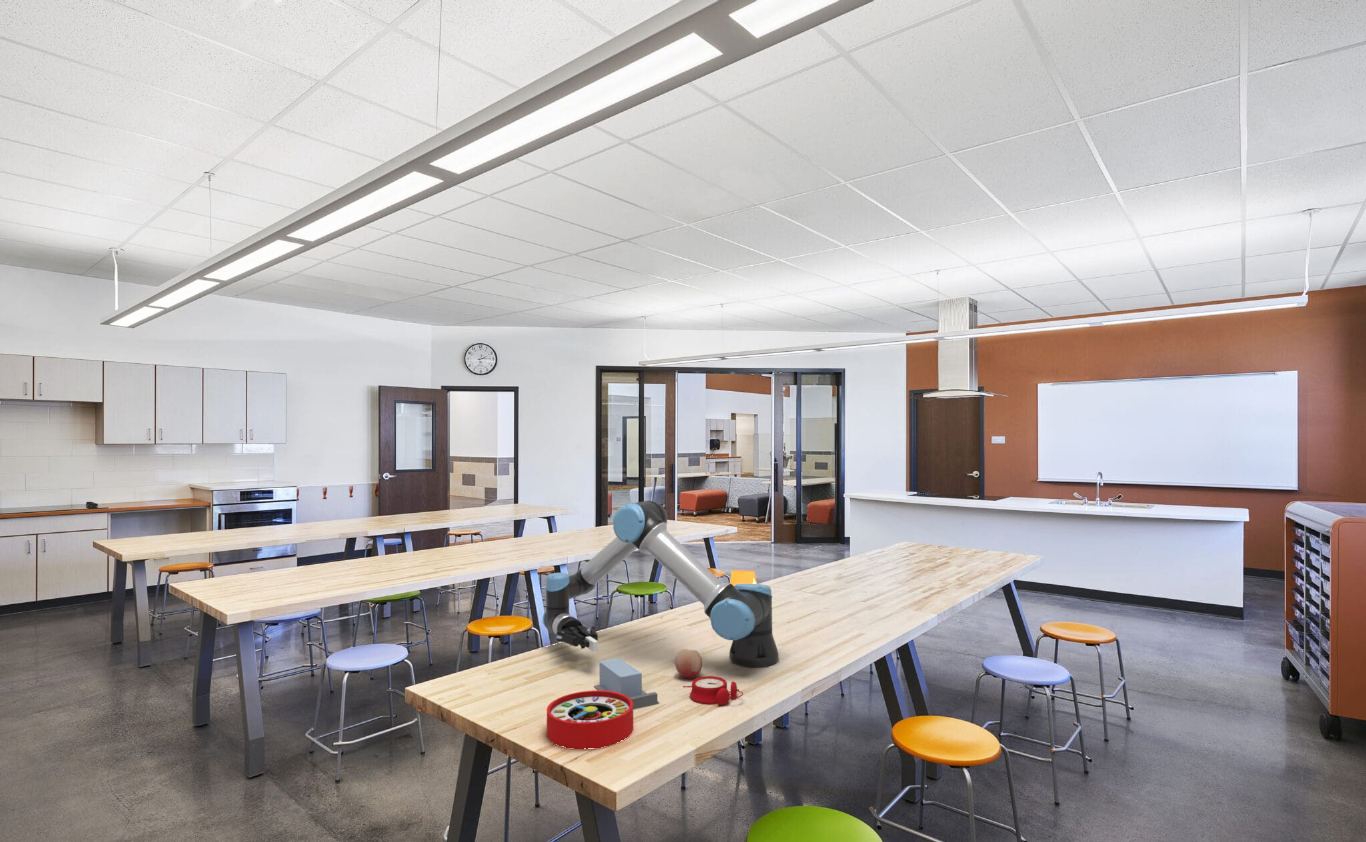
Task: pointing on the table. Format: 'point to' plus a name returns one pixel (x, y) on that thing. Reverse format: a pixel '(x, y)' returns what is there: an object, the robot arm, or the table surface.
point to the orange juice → (742, 577)
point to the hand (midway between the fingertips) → (596, 646)
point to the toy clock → (589, 719)
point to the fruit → (688, 663)
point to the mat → (638, 698)
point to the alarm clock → (712, 690)
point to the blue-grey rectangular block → (620, 677)
